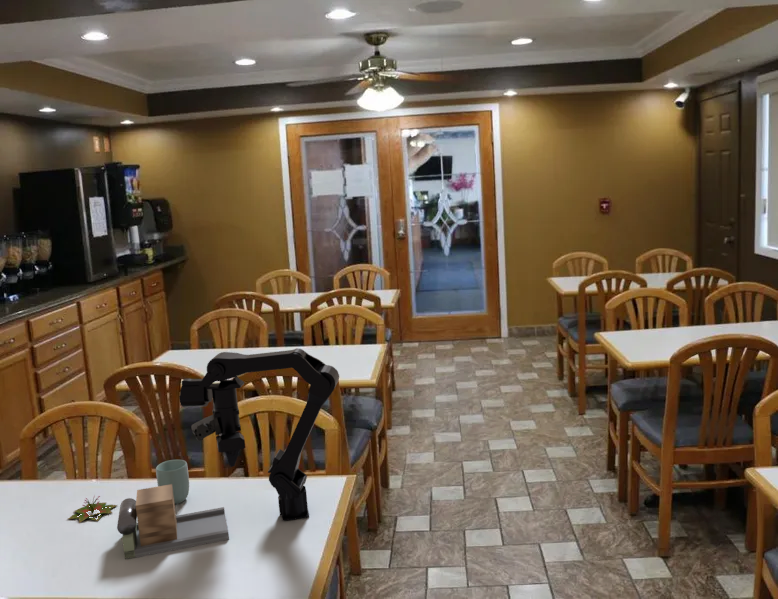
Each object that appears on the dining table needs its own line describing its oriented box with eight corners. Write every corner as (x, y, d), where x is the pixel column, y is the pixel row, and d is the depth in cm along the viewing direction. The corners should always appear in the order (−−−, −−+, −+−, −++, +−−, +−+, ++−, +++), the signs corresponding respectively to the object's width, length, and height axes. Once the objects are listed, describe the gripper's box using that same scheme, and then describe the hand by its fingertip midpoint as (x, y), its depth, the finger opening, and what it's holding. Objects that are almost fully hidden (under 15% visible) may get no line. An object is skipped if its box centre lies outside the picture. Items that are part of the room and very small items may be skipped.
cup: (182, 508, 191) (178, 471, 189) (154, 507, 192) (150, 470, 190) (196, 495, 198) (191, 459, 196) (169, 494, 200) (164, 459, 198)
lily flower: (87, 502, 199) (84, 486, 198) (127, 504, 196) (124, 488, 195) (58, 524, 187) (55, 507, 186) (99, 526, 184) (97, 509, 183)
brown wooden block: (176, 522, 180) (172, 483, 179) (177, 539, 172) (172, 499, 170) (142, 528, 178) (137, 489, 176) (141, 546, 169) (135, 505, 168)
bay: (224, 513, 186) (221, 479, 184) (229, 539, 173) (225, 503, 171) (124, 532, 179) (119, 497, 178) (120, 560, 166) (115, 522, 165)
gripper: (190, 399, 186) (197, 458, 189) (192, 422, 168) (200, 486, 171) (235, 393, 189) (241, 451, 192) (242, 414, 171) (248, 478, 174)
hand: (232, 466), depth 182 cm, fingers closed
